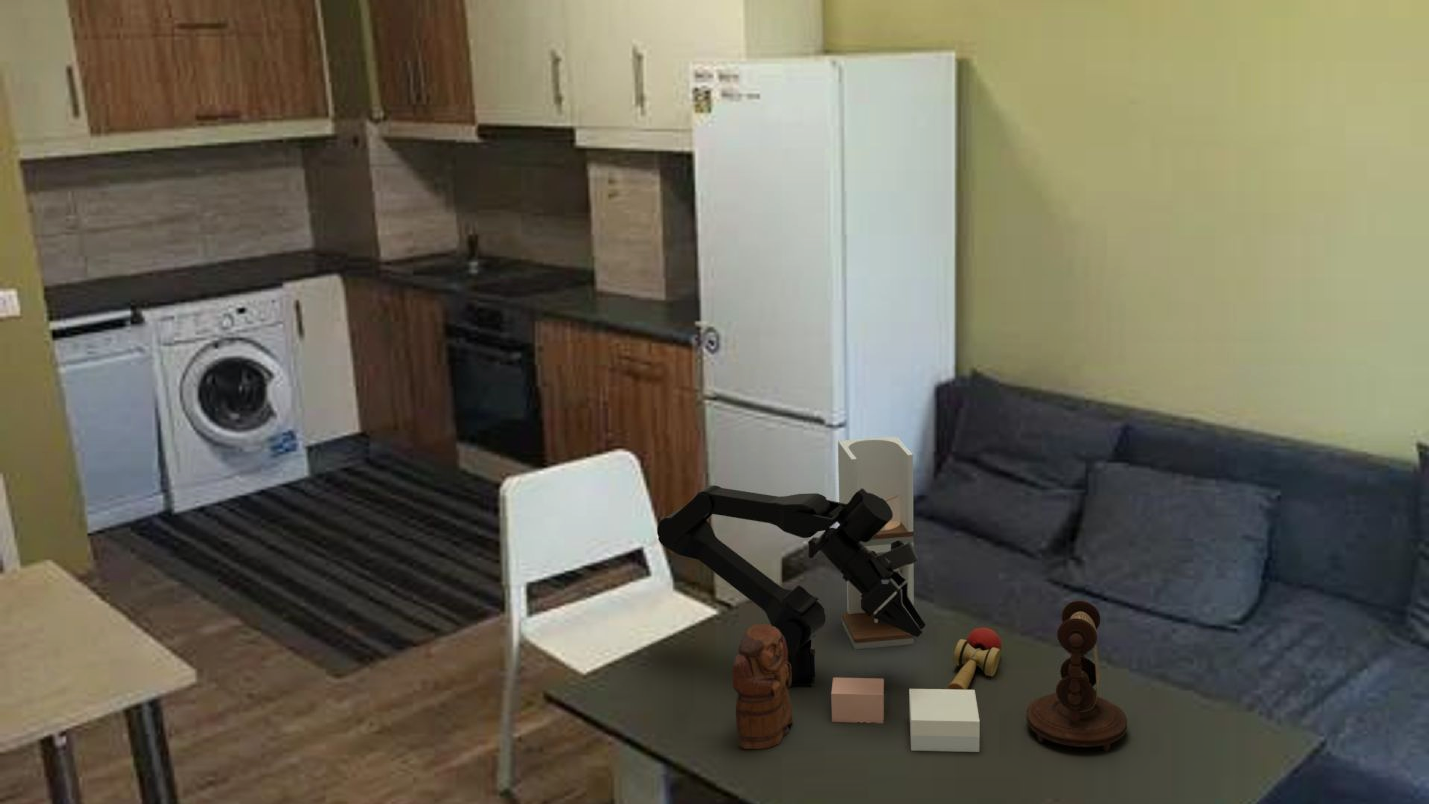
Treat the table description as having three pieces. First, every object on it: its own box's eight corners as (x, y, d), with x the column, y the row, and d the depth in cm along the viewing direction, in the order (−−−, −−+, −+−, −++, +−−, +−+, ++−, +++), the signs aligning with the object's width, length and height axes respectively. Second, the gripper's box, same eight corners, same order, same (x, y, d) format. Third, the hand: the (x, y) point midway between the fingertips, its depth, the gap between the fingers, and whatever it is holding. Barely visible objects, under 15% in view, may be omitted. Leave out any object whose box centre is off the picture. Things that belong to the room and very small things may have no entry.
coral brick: (832, 722, 202) (831, 693, 201) (833, 705, 207) (833, 677, 206) (883, 724, 201) (883, 695, 199) (884, 707, 206) (883, 678, 205)
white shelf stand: (841, 622, 237) (837, 440, 229) (897, 618, 238) (896, 436, 230) (854, 649, 226) (851, 459, 218) (913, 644, 227) (913, 454, 219)
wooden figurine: (770, 756, 192) (766, 645, 188) (731, 748, 195) (726, 639, 191) (800, 720, 203) (797, 614, 198) (763, 713, 205) (759, 608, 201)
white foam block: (911, 750, 192) (911, 720, 191) (909, 717, 202) (909, 688, 201) (979, 752, 191) (979, 721, 190) (974, 719, 201) (974, 689, 199)
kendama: (985, 711, 206) (1014, 651, 220) (976, 677, 204) (1007, 619, 219) (939, 709, 210) (971, 651, 224) (931, 676, 208) (963, 619, 223)
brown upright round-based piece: (1123, 762, 187) (1129, 635, 182) (1020, 748, 192) (1022, 624, 187) (1129, 714, 200) (1134, 595, 195) (1032, 702, 205) (1034, 585, 200)
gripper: (882, 526, 196) (956, 602, 193) (893, 521, 214) (960, 590, 211) (830, 577, 197) (903, 653, 194) (845, 567, 215) (912, 636, 212)
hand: (921, 631), depth 203 cm, fingers open, 9 cm apart
